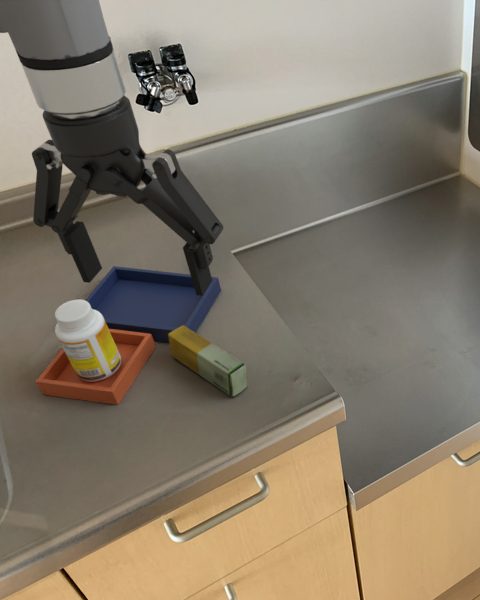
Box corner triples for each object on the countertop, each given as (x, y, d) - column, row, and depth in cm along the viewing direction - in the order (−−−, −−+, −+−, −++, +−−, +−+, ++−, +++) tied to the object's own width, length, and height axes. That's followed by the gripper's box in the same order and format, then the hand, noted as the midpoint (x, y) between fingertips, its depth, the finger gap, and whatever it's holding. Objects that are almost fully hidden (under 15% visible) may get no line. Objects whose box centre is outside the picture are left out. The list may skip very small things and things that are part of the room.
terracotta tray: (43, 394, 77) (35, 381, 75) (87, 338, 84) (80, 325, 83) (118, 405, 76) (112, 391, 74) (156, 346, 83) (151, 333, 81)
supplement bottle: (112, 346, 82) (86, 288, 76) (129, 369, 79) (105, 310, 73) (70, 366, 80) (40, 308, 73) (87, 391, 77) (57, 332, 70)
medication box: (249, 386, 78) (247, 364, 75) (233, 398, 76) (230, 375, 74) (186, 345, 83) (182, 323, 81) (170, 356, 81) (165, 333, 79)
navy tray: (76, 331, 85) (69, 317, 84) (118, 278, 94) (113, 265, 92) (188, 344, 83) (184, 331, 82) (221, 290, 92) (218, 277, 90)
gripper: (230, 94, 57) (263, 272, 71) (-12, 77, 60) (66, 250, 74) (197, 130, 51) (240, 315, 65) (-68, 109, 54) (28, 290, 68)
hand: (148, 281), depth 70 cm, fingers open, 13 cm apart
